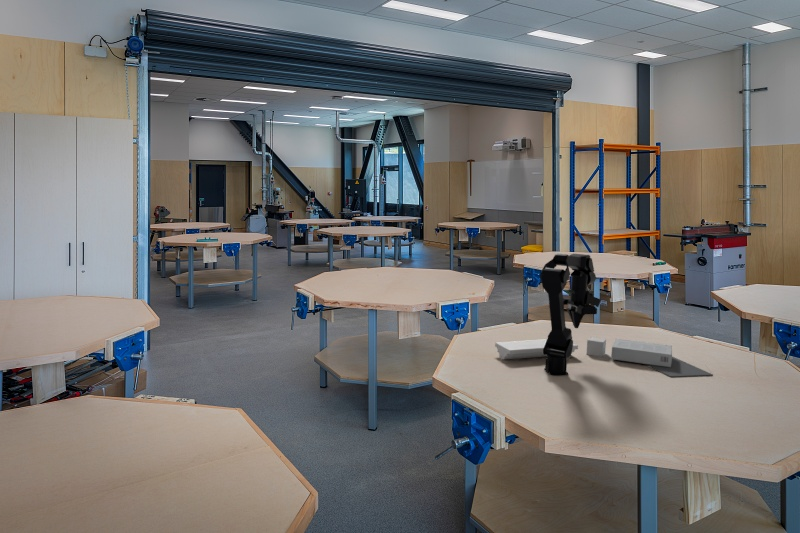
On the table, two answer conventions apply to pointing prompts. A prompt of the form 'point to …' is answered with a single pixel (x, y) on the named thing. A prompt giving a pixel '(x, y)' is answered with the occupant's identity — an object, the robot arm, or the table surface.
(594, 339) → the white cube
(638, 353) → the skincare box
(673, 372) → the rubber mat
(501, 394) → the table surface
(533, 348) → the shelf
